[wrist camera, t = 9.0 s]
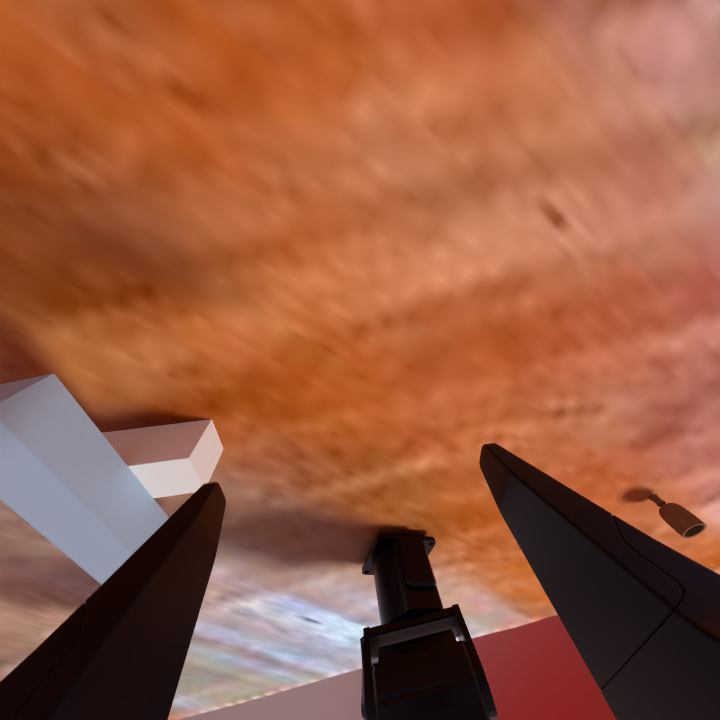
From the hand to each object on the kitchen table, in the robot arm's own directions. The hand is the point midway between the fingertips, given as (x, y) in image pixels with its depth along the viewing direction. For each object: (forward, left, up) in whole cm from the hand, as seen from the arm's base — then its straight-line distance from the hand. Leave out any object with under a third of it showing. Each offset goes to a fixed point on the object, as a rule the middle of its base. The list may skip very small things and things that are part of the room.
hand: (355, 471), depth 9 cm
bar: (-11, +12, -7) cm, 18 cm away
